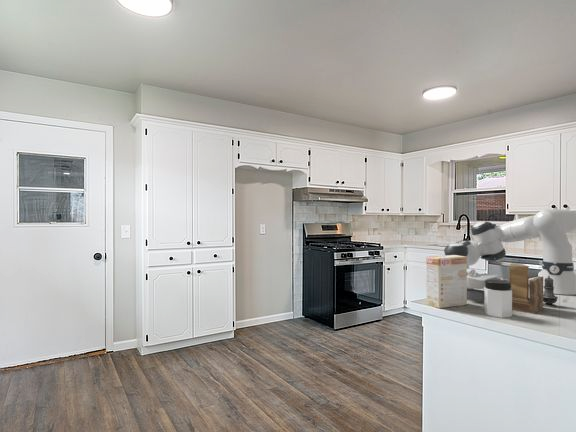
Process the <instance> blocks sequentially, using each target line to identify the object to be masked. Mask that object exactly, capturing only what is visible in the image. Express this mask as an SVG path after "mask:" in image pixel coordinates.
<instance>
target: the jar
mask: <svg viewBox="0 0 576 432" xmlns="http://www.w3.org/2000/svg"><path fill="white" fill-rule="evenodd" d="M483 290H484V302H483V304H484V305H483V307H484V309H483V311H484V313H485V314H486V315H487V316H490V317H495V318H502V319H503V318H512V317H513V310H512V290H511V282H509V281H504V280H485V287H484V289H483Z"/></svg>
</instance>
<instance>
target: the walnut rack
mask: <svg viewBox="0 0 576 432" xmlns="http://www.w3.org/2000/svg"><path fill="white" fill-rule="evenodd" d="M543 294H544V292H543V277H540V276H539V277H538V276H537V277H535V278H532V279H529V300H528V302H529V304H525V303H519V302H512V311H515V312H521V313H527V314H536V313H537V312H540V311H541V310H542V309H544V306H543V303H544V302H543Z"/></svg>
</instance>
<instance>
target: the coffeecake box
mask: <svg viewBox="0 0 576 432" xmlns="http://www.w3.org/2000/svg"><path fill="white" fill-rule="evenodd" d="M425 258H426V263H425V264H426V305H427V306H430V307H434V308H437V309H443V308H444V309H445V308H451V307H458V306H459V307H460V306H466V305H468V301H467V300H468V299H467V257H466V256H459V255H446V256H445V255H434V256H433V255H430V256H426V257H425Z"/></svg>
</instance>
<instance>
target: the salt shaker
mask: <svg viewBox="0 0 576 432" xmlns="http://www.w3.org/2000/svg"><path fill="white" fill-rule="evenodd" d="M543 287H544V292H543V307H546V308H558V305H556V303H557V301H558V299H559V297H558V296H556V295H555V294H554V287H553V279H552V278H550V276H548V278H545V286H543Z"/></svg>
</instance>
